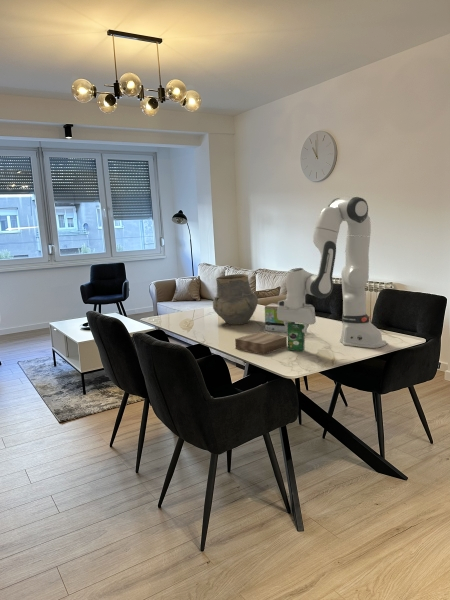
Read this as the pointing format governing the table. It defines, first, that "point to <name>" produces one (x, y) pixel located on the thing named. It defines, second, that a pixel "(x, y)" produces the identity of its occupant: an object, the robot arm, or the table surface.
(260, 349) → the block
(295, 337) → the coffee box
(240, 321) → the ceramic pot
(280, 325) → the tea box
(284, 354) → the table surface
